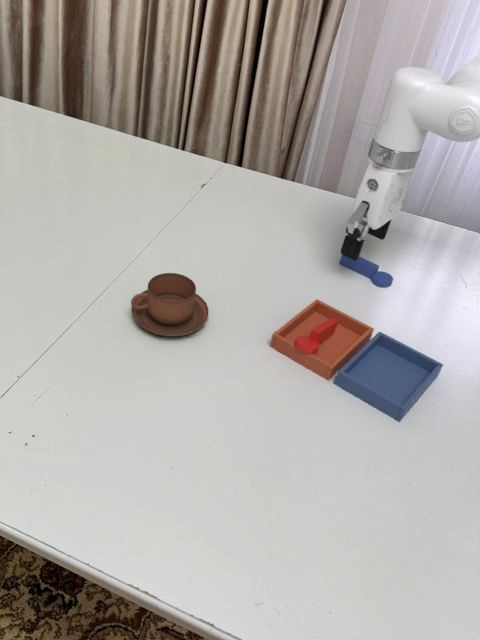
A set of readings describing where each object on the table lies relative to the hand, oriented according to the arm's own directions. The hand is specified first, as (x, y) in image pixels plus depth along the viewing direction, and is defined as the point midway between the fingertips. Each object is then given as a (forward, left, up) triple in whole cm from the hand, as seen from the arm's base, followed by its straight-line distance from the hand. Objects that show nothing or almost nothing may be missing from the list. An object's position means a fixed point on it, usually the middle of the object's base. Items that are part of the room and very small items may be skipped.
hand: (362, 246), depth 109 cm
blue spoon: (-2, 0, -5) cm, 5 cm away
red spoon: (-6, +24, -3) cm, 25 cm away
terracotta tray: (-6, +22, -5) cm, 24 cm away
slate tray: (-18, +22, -5) cm, 29 cm away
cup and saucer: (+14, +35, -5) cm, 38 cm away
